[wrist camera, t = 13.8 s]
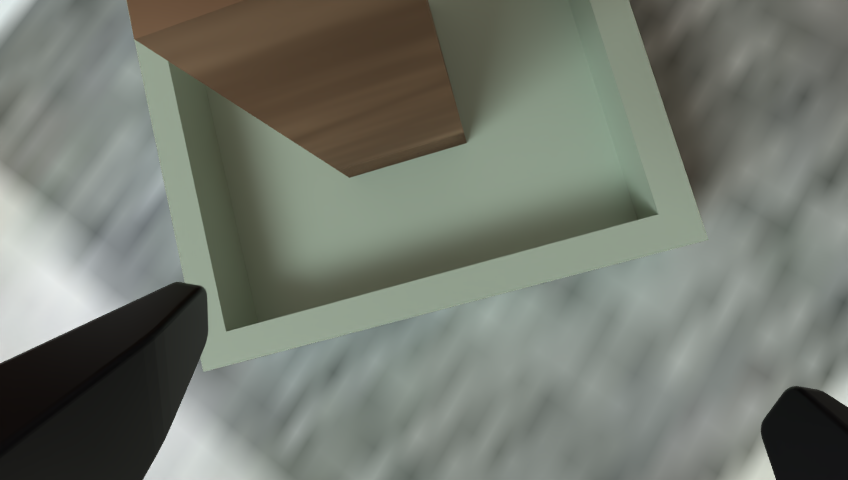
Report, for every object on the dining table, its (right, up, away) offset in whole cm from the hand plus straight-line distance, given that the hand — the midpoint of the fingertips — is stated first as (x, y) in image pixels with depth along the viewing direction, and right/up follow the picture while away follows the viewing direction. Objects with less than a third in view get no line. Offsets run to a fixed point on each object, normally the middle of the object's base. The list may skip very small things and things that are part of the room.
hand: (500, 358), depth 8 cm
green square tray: (-2, +8, +14) cm, 16 cm away
